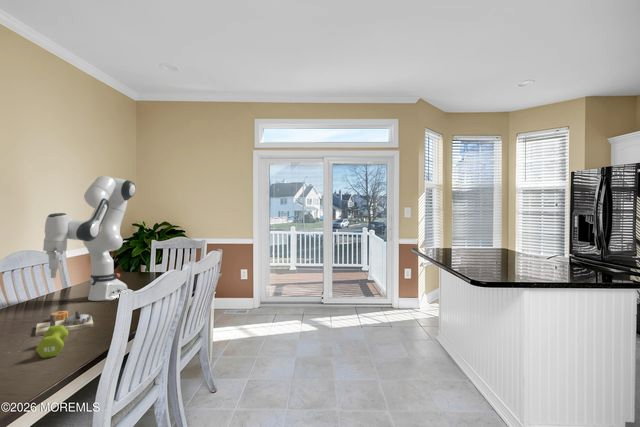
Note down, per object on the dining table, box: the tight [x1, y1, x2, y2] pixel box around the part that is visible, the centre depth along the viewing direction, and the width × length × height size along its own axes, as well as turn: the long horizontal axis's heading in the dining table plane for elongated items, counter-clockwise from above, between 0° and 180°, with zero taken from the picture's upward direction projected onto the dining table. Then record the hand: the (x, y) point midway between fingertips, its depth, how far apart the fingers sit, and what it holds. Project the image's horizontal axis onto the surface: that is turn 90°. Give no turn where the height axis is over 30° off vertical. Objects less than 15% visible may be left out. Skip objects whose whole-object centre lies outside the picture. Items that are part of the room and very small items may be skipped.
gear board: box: [35, 310, 94, 337], centre depth 152 cm, size 20×13×6 cm, turn 128°
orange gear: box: [50, 310, 70, 321], centre depth 162 cm, size 7×7×3 cm
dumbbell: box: [35, 325, 69, 359], centre depth 128 cm, size 16×8×7 cm, turn 30°
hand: (53, 276), depth 162 cm, fingers open, 8 cm apart
